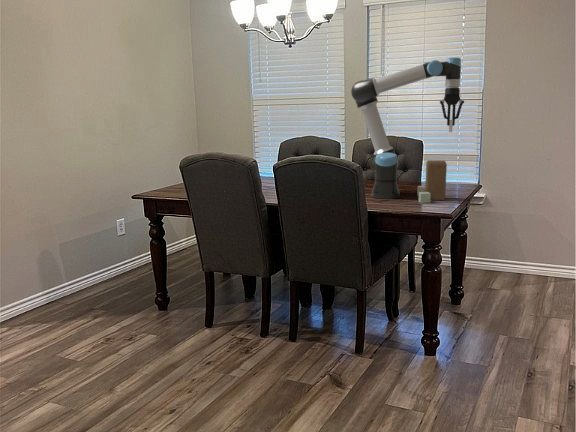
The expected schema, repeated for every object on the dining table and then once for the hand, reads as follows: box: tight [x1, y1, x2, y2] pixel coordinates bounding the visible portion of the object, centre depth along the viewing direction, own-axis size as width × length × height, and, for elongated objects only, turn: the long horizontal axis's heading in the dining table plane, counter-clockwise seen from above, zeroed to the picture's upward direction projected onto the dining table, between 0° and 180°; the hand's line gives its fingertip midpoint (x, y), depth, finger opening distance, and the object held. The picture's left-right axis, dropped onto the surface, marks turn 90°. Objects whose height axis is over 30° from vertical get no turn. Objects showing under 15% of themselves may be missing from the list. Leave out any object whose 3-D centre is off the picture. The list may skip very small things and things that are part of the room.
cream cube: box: [416, 185, 425, 197], centre depth 313 cm, size 5×5×5 cm
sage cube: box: [418, 192, 431, 204], centre depth 294 cm, size 5×5×5 cm
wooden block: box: [424, 160, 447, 201], centre depth 301 cm, size 10×10×20 cm
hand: (450, 131), depth 310 cm, fingers closed
